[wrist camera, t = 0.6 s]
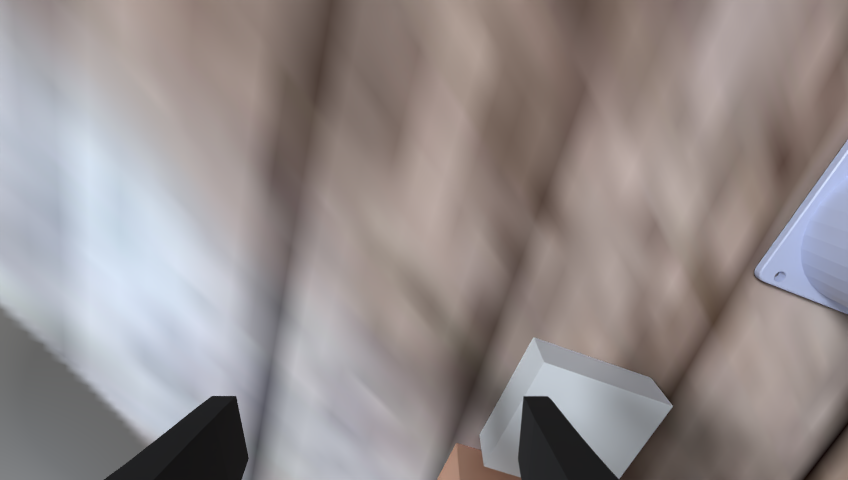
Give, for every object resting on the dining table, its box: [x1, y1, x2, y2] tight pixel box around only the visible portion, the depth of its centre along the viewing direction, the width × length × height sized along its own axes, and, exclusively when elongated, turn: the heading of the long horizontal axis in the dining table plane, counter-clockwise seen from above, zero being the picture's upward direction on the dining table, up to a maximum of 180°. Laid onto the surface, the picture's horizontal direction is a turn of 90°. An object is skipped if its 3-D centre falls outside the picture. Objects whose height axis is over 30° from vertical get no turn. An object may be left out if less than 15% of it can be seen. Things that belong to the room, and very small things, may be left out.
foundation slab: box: [479, 337, 673, 479], centre depth 22 cm, size 7×7×2 cm
